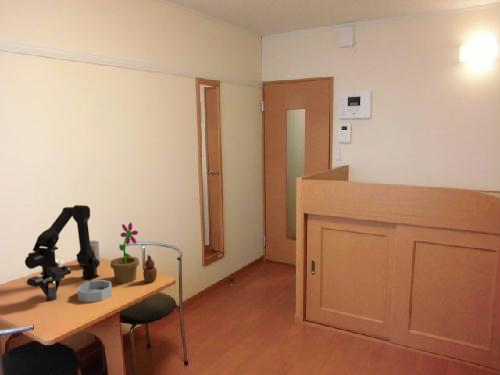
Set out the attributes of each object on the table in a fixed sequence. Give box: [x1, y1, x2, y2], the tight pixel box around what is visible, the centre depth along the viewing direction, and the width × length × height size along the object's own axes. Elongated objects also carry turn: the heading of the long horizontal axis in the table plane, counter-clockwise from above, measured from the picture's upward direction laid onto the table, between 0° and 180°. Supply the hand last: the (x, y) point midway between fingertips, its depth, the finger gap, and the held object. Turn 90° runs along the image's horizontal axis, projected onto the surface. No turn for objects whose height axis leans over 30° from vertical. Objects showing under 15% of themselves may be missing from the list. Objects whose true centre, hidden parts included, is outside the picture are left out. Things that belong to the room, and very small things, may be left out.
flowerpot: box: [110, 222, 140, 284], centre depth 204 cm, size 14×14×30 cm
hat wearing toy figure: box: [50, 255, 64, 279], centre depth 208 cm, size 9×4×12 cm, turn 118°
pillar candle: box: [81, 240, 100, 269], centre depth 226 cm, size 10×10×15 cm
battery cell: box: [45, 278, 58, 302], centre depth 183 cm, size 4×4×10 cm
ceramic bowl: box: [77, 279, 113, 303], centre depth 187 cm, size 15×15×4 cm
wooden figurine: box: [142, 254, 158, 284], centre depth 203 cm, size 7×6×15 cm
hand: (51, 293), depth 183 cm, fingers closed on battery cell, 4 cm apart
